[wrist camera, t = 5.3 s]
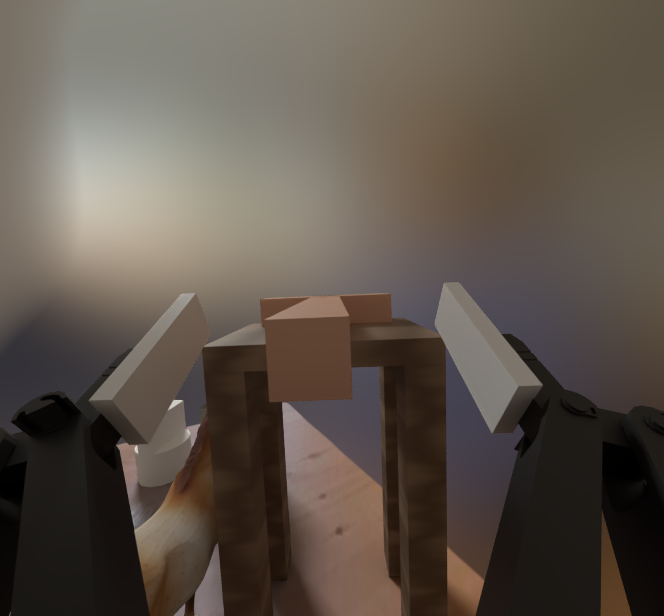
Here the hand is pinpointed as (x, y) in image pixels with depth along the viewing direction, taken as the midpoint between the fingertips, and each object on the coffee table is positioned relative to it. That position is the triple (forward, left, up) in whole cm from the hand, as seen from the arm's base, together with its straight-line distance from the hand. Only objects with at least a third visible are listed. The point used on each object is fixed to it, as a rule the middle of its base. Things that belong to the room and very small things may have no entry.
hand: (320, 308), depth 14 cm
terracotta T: (0, +6, -3) cm, 6 cm away
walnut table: (0, +11, -33) cm, 35 cm away
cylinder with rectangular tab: (-33, +34, -33) cm, 58 cm away
